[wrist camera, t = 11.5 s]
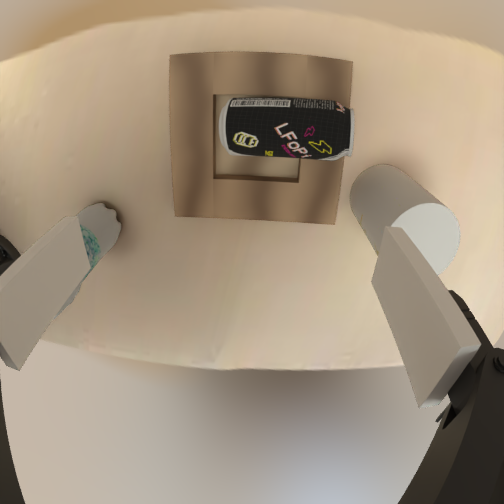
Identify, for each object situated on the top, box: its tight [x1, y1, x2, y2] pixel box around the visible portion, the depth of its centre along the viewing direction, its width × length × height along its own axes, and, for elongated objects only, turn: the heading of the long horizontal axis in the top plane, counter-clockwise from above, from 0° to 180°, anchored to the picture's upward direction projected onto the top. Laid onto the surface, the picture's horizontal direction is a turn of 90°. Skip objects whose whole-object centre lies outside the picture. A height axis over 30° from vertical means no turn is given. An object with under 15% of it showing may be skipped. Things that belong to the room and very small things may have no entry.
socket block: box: [169, 52, 353, 225], centre depth 30 cm, size 18×18×2 cm
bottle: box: [54, 203, 121, 319], centre depth 29 cm, size 7×7×20 cm
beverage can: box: [219, 97, 354, 161], centre depth 27 cm, size 6×6×12 cm
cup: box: [350, 164, 460, 275], centre depth 29 cm, size 8×8×12 cm
